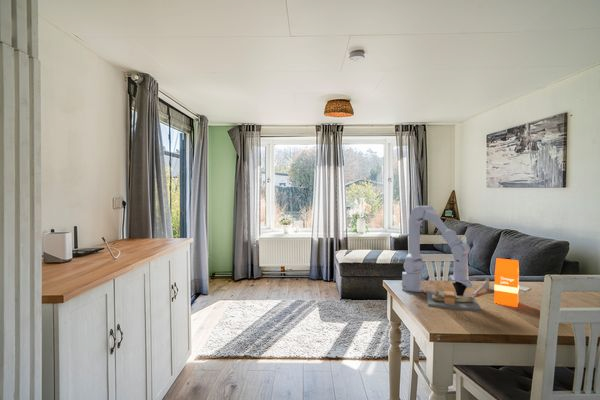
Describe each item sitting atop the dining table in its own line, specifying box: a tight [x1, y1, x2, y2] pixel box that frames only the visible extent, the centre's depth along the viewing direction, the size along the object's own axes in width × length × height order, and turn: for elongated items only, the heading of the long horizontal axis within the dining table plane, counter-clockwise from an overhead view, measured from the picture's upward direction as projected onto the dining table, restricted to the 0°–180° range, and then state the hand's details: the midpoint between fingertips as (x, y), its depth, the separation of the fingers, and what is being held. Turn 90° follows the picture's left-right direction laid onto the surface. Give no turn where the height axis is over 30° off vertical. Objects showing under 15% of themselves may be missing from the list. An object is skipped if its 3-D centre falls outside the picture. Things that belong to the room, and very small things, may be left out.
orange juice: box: [493, 257, 520, 308], centre depth 150 cm, size 8×9×20 cm
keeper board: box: [425, 290, 482, 312], centre depth 153 cm, size 21×21×5 cm
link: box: [432, 290, 475, 302], centre depth 149 cm, size 18×4×4 cm, turn 82°
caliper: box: [472, 276, 490, 297], centre depth 166 cm, size 20×1×6 cm, turn 132°
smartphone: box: [519, 285, 531, 292], centre depth 176 cm, size 7×1×15 cm
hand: (459, 298), depth 151 cm, fingers closed, pressing on link
